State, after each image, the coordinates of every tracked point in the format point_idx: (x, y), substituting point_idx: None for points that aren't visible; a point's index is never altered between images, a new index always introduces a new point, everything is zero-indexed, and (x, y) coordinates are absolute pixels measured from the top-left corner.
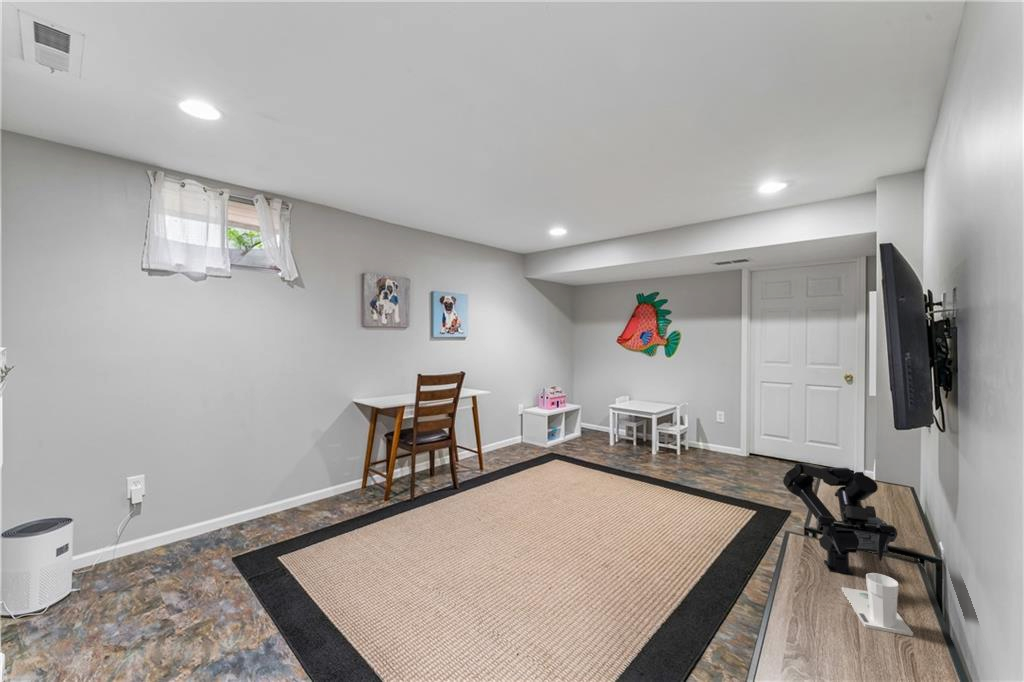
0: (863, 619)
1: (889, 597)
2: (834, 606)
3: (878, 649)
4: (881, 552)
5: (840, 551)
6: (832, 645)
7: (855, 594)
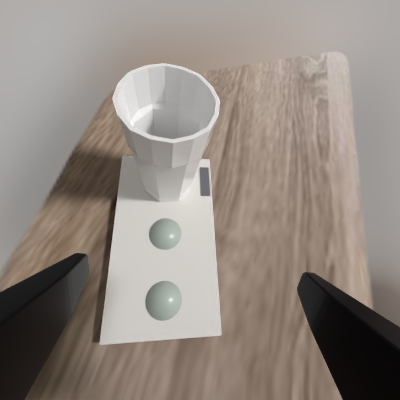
0: (208, 173)
1: (163, 99)
2: (252, 224)
3: None
4: (33, 280)
5: (314, 275)
6: (269, 105)
7: (191, 297)
